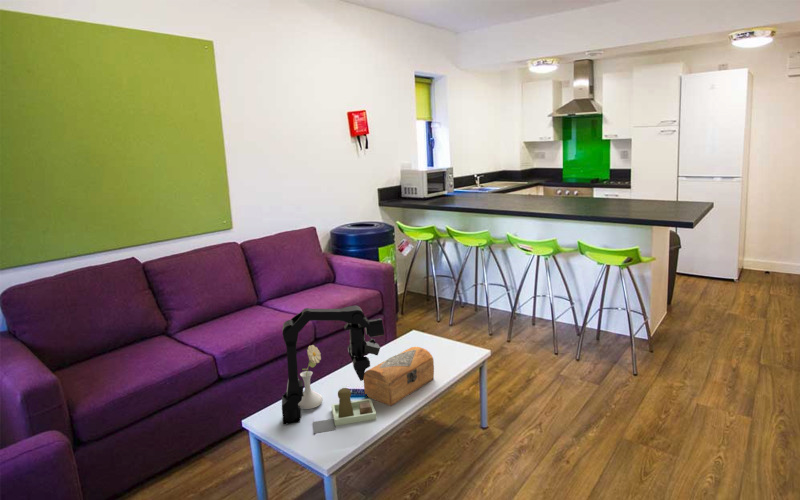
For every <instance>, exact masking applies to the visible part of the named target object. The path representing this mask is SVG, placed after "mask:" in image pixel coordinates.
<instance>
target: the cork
mask: <svg viewBox="0 0 800 500" xmlns="http://www.w3.org/2000/svg"><path fill="white" fill-rule="evenodd" d="M337 396H338V400H339V401H338V403H339V415H338V416H339V418H342V417H348V416H354V413H353V409H352V404H351V401H352V400H351V396H352V390H351V389H350V388H347V387H343V388H340V389H339V390H338V391H337Z"/></svg>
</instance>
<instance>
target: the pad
mask: <svg viewBox="0 0 800 500" xmlns="http://www.w3.org/2000/svg"><path fill="white" fill-rule="evenodd" d="M312 425H313V426H312V427H313V434H314V435H316V434H321V433H325V432H332V431H336V430H337V429H336V426H335V423H334V418H331V419H330V418H327V419H323V420H316V421H313V422H312Z"/></svg>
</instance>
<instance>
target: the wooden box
mask: <svg viewBox="0 0 800 500" xmlns="http://www.w3.org/2000/svg"><path fill="white" fill-rule="evenodd" d="M434 363H435V362H434V357H433V356H432V354H431V352H430V351H428V350H427V349H425V348H423V347H420V346H411V347H409V348H407V349H405V350H404V351H401V352H400V353H398V354H395V355H393V356H392V357H391V356H390V357H389V358H388V359H386V360H385V361H382V362H381V363H378V364H377V365H375V366H373V367H372V368H368V370H367V369H366V370H365V373H364V378H363V387H364V388H363V389H364V395H365V394H367V396H368V397H367V396H366V397H367V398H368V399H371V400H375V401H377V402H380V403H383V404H385V405H387V406H390V407H392V406H394V405H395V404H397V403H399V402H400V401H401V400H403V399H404V398H406V397H407V396H409V395H411V394H413V393H414V392H416V391H417V390H419V389H420V388H422V387H423V386H425V385H427V384H428V383H430V382H431V381H433V380H434V378H435V377H434V376H435V373H434V372H435V366H434V365H435V364H434Z"/></svg>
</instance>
